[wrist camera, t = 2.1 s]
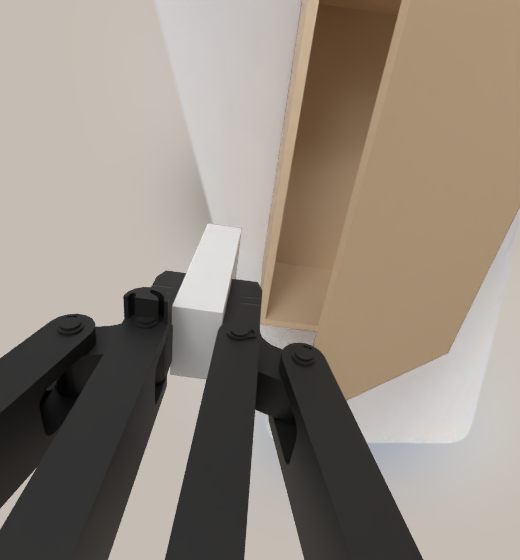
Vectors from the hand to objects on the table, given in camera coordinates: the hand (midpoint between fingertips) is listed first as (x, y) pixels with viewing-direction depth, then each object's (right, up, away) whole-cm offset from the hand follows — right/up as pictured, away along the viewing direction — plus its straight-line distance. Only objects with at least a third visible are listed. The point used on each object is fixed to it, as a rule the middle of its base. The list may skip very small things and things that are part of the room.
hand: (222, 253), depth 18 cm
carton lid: (+12, +2, +5) cm, 13 cm away
